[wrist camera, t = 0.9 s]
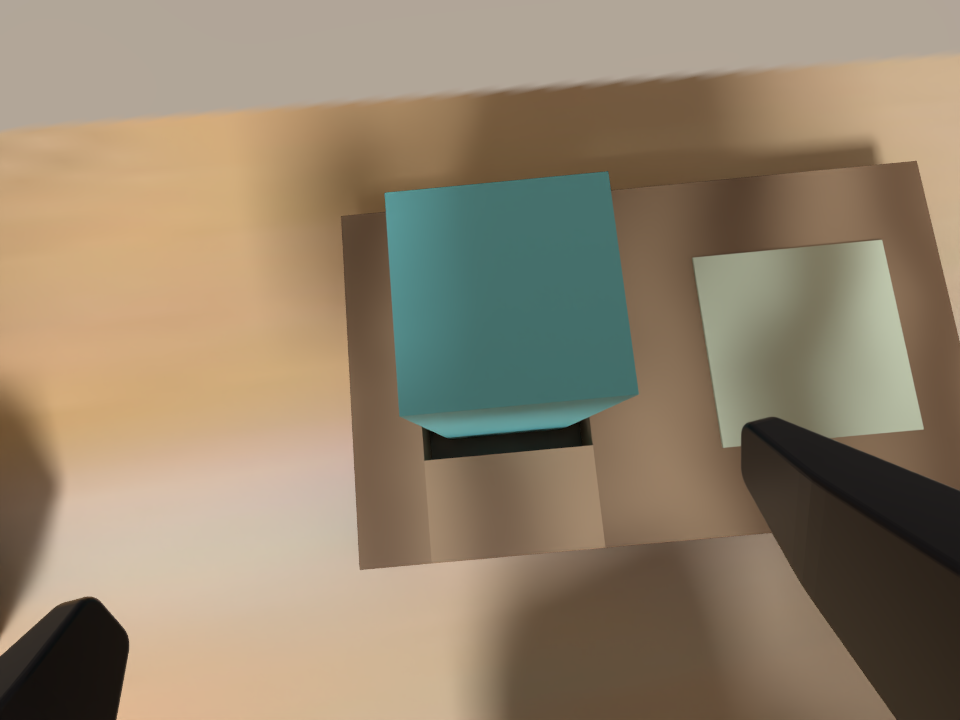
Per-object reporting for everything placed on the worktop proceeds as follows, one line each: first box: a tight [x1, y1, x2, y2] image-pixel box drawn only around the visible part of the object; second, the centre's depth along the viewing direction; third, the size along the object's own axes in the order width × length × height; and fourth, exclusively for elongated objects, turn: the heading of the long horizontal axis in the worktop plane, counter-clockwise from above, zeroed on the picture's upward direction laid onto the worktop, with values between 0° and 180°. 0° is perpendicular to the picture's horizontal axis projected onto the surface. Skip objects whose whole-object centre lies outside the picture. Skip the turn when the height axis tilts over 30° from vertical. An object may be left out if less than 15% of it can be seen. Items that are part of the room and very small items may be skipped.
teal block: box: [385, 171, 639, 439], centre depth 17 cm, size 4×4×12 cm
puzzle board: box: [341, 161, 960, 570], centre depth 22 cm, size 22×13×3 cm, turn 95°
